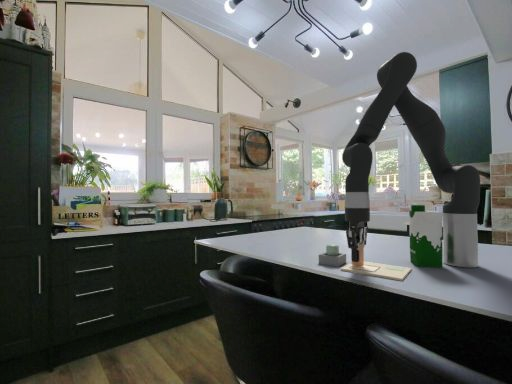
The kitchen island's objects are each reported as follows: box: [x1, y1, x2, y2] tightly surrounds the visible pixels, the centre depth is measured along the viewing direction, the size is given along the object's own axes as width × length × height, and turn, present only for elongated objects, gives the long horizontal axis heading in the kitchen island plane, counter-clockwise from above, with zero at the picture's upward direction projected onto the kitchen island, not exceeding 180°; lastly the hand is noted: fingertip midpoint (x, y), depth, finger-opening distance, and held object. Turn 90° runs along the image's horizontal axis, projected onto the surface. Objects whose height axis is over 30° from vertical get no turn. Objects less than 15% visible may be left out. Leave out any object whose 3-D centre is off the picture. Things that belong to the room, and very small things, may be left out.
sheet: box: [340, 260, 413, 282], centre depth 83 cm, size 14×17×1 cm
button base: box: [318, 251, 347, 267], centre depth 92 cm, size 7×7×3 cm
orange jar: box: [351, 239, 365, 266], centre depth 85 cm, size 4×4×8 cm
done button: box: [325, 244, 340, 256], centre depth 93 cm, size 4×4×4 cm
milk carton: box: [408, 204, 443, 268], centre depth 90 cm, size 9×9×20 cm
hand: (357, 260), depth 85 cm, fingers closed on orange jar, 3 cm apart
